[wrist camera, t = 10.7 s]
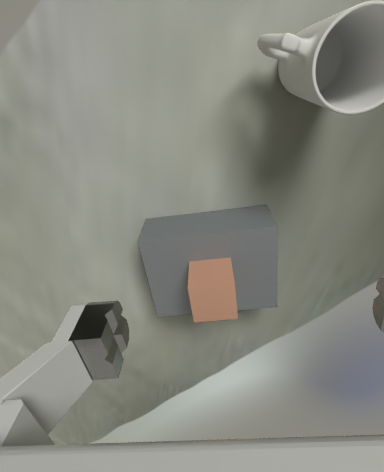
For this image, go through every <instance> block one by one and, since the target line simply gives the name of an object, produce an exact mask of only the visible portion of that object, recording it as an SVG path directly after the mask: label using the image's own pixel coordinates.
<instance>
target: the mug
mask: <svg viewBox="0 0 384 472" xmlns="http://www.w3.org/2000/svg"><path fill="white" fill-rule="evenodd" d="M257 45H258V47H259V49H260V50H261V51H262V52H263V54H265V55H266V56H269V57H272V58H275V59H279V64H278V73H279V78H280V81H281V83H282V85H283V86H284V88H285V89H286V90H287V91H288V92H290V93H291V94H293V95H295V96H297V97H299V98H302V99H304V100H307V101H309V102H312V103H314V104H317V105H319V106H321V107H324V108H327V109H329V110H332V111H335V112H338V113H342V114H359V113H363V112H366V111H369V110H372V109H374V108H376V107H377V106H379V105H381V104H382V103H384V1H368V2H364V3H361V4H358V5H356V6H354V7H351V8H348V9H346V10H344V11H341V12H339V13H337V14H335V15H333V16H331V17H328V18H326V19H324V20H322V21H320V22H317V23H315V24H313V25H311V26H309V27H307V28H305V29H303V30H301V31H299V32H298V33H296V34H295V35H293V34H290V33H285V34H266V35H262V36H260V37H259V39H258V42H257Z"/></svg>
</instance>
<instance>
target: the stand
mask: <svg viewBox="0 0 384 472" xmlns="http://www.w3.org/2000/svg"><path fill="white" fill-rule="evenodd" d="M138 244H139V248H140V252H141V256H142V259H143V263H144V267H145V271H146V275H147V278H148V282H149V286H150V290H151V294H152V297H153V301H154V305H155V309H156V313H157V316H158V317H167V316H179V315H190V314H192V309H191V304H190V298H189V293H188V274H189V262H191V261H201V260H210V259H220V258H230V257H231V262H232V269H233V275H234V281H235V291H236V302H237V310H248V309H260V308H272V307H277V225H276V223H275V221H274V219H273V217H272V215H271V213H270V210H269V208H268V206H267V205H263V206H254V207H245V208H237V209H228V210H220V211H211V212H202V213H194V214H185V215H177V216H168V217H159V218H151V219H146V220H145V223H144V226H143V229H142V232H141V234H140V237H139V240H138Z"/></svg>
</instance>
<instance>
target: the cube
mask: <svg viewBox="0 0 384 472" xmlns="http://www.w3.org/2000/svg"><path fill="white" fill-rule="evenodd" d="M188 293H189V298H190V304H191V309H192V314H193V320H194V322H206V321H218V320H230V319H238V313H237V302H236V291H235V281H234V275H233V269H232V262H231V257H230V258H220V259H210V260H201V261H191V262H189V274H188Z"/></svg>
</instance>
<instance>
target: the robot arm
mask: <svg viewBox="0 0 384 472" xmlns="http://www.w3.org/2000/svg"><path fill="white" fill-rule="evenodd" d="M376 289H377V290H378V292H379V293H380V294H379V295H378V296H377V297H376V298H375V299H374V302H373V314H374V318H375V321H376V323H377V325H378V327H379V328H380V330H381V331H383V332H384V278H380V279H379V281H378V282H377V287H376ZM122 310H123V309H122V306H121V304H120V302H118V301H107V302H91V303H80V304H74V305H72V306H71V307H70V309H69V311H68V313H67V315H66V317H65V318H64V320H63V322H62V324H61V326H60V327H59V329H58V331H57V333H56V335H55V336H54V338H53V340H52V342H51V343H46V344H45V345H43V346H42V347H41V348H39V349H38V350H37V351H35V352H34V353H33V354H32V355H30V356H29V357H28V358H26V359H25V360H24V361H22V362H21V363H20V364H19V365H17V366H16V367H15V368H13V369H12V370H11V371H9V372H8V373H7V374H6V375H4V376H3V377H2V378H0V472H384V435H357V436H356V435H355V436H323V437H293V438H291V437H290V438H263V439H262V438H259V439H227V440H196V441H165V442H133V443H132V442H131V443H100V444H65V445H55V444H54V442H53V441H52V440H51V438H50V437H49V436H48V434H49V433H50V432H51V430H52V429H53V428H54V427H55V426H56V424H57V423H58V422H59V421H60V420H61V419H62V417H63V416H64V415H65V414H66V413H67V411H68V410H69V409H70V408H71V407H72V406H73V404H74V403H75V402H76V401H77V400H78V398H79V397H80V396H81V395H82V394H83V393H84V391H85V390H86V389H87V388H88V387H89V385H90V384H91V383H92V382H93V381H92V380H100V379H112V378H118V377H119V374H120V370H121V367H122V363H123V360H124V359H123V357H122V354H121V353H122V352H123V351H124V350H125V349H126V348H127V345H128V341H129V327H128V323H127V320H126V319H125V318H124V317H123V316H121V313H122Z"/></svg>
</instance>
